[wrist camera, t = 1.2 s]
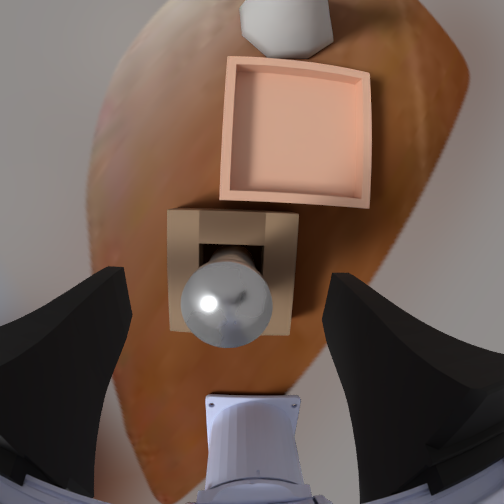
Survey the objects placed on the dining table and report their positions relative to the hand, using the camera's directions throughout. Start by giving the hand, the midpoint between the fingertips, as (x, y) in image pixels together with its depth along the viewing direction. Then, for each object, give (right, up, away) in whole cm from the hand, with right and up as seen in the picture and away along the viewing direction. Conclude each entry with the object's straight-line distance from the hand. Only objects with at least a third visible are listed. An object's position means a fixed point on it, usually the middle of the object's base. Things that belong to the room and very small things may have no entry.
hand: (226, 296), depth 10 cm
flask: (+3, +19, +8) cm, 21 cm away
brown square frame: (-1, 0, +11) cm, 11 cm away
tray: (+4, +10, +9) cm, 14 cm away
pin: (-1, 0, +11) cm, 11 cm away
